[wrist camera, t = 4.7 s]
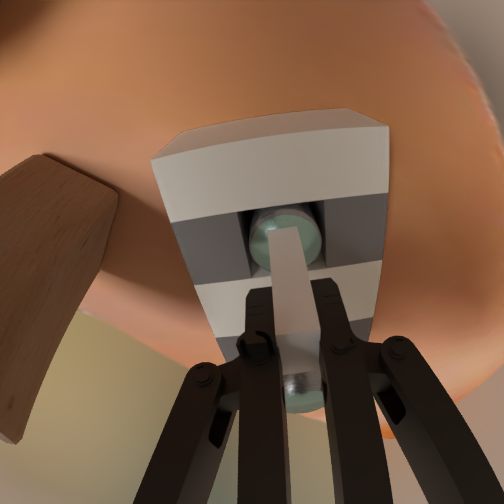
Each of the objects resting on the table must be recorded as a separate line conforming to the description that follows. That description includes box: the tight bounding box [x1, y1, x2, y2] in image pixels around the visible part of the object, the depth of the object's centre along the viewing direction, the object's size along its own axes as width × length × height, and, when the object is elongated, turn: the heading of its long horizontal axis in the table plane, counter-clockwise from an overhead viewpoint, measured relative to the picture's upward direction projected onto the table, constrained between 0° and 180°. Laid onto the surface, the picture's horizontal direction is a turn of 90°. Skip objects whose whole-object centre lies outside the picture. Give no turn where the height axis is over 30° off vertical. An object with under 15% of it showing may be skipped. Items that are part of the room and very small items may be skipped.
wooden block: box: [0, 155, 118, 445], centre depth 14 cm, size 10×10×20 cm
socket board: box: [150, 108, 389, 363], centre depth 22 cm, size 22×12×7 cm, turn 10°
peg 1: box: [249, 202, 322, 272], centre depth 19 cm, size 4×4×7 cm
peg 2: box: [283, 370, 324, 413], centre depth 20 cm, size 4×4×7 cm
